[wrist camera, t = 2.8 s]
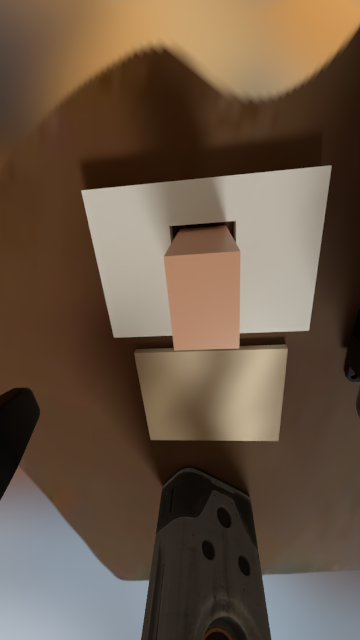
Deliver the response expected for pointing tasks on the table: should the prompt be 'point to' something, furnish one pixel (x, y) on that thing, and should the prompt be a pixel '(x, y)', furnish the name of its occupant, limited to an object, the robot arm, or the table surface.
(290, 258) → the white slotted plate
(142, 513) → the table surface
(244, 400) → the pad
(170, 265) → the plug
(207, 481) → the electronic device
